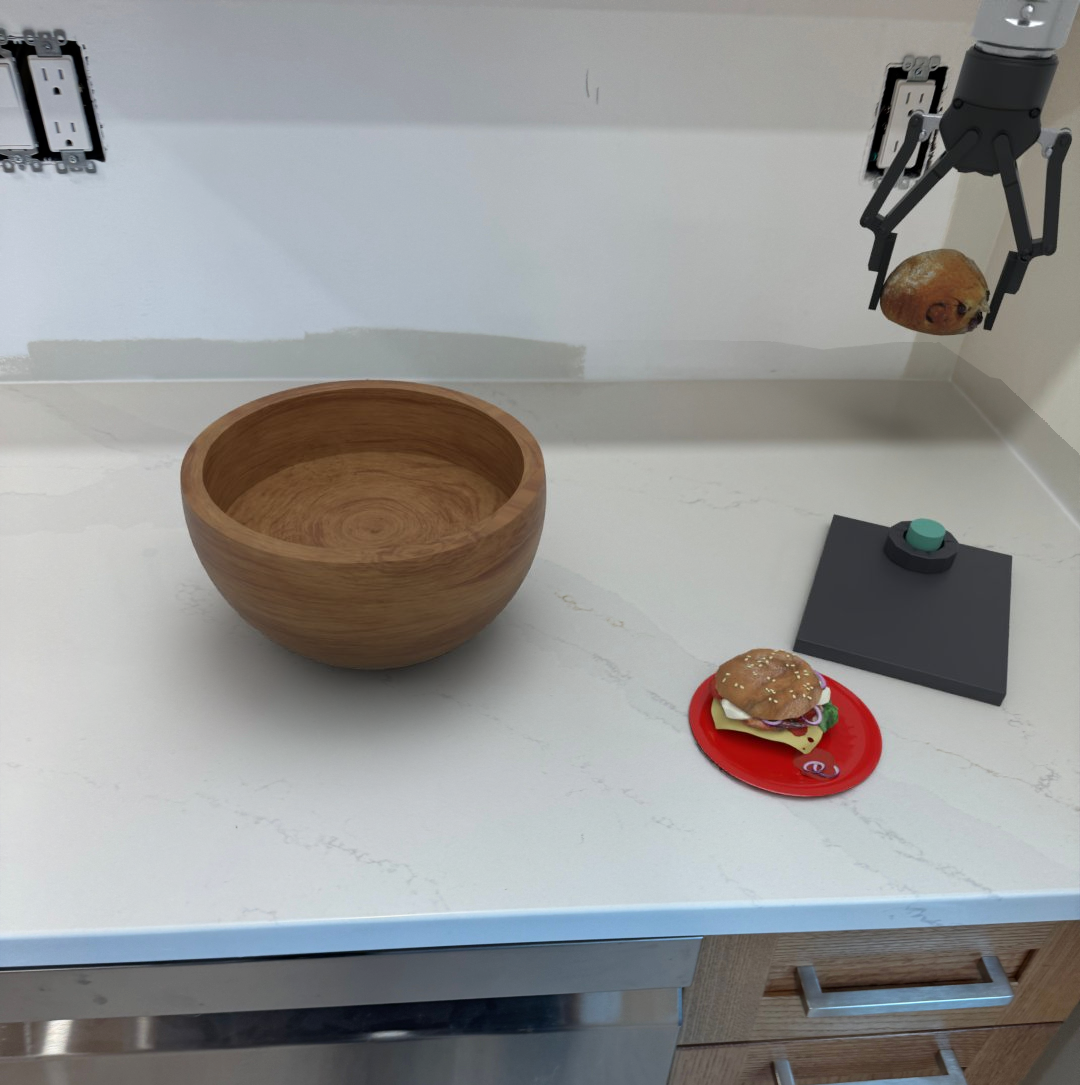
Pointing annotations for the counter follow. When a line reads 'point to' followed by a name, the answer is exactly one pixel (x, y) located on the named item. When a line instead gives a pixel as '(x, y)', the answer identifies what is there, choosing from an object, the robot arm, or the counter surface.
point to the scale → (911, 610)
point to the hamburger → (784, 725)
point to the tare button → (925, 534)
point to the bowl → (366, 517)
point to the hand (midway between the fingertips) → (929, 315)
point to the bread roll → (936, 293)
